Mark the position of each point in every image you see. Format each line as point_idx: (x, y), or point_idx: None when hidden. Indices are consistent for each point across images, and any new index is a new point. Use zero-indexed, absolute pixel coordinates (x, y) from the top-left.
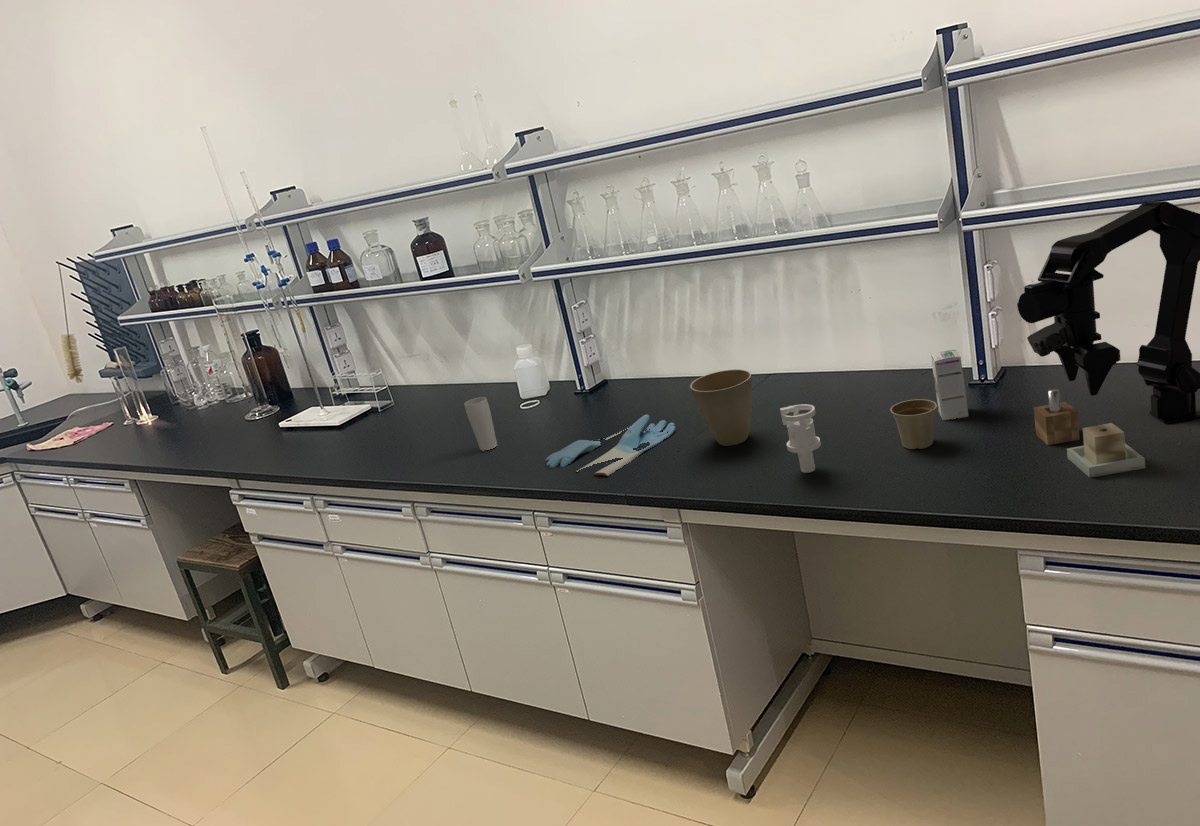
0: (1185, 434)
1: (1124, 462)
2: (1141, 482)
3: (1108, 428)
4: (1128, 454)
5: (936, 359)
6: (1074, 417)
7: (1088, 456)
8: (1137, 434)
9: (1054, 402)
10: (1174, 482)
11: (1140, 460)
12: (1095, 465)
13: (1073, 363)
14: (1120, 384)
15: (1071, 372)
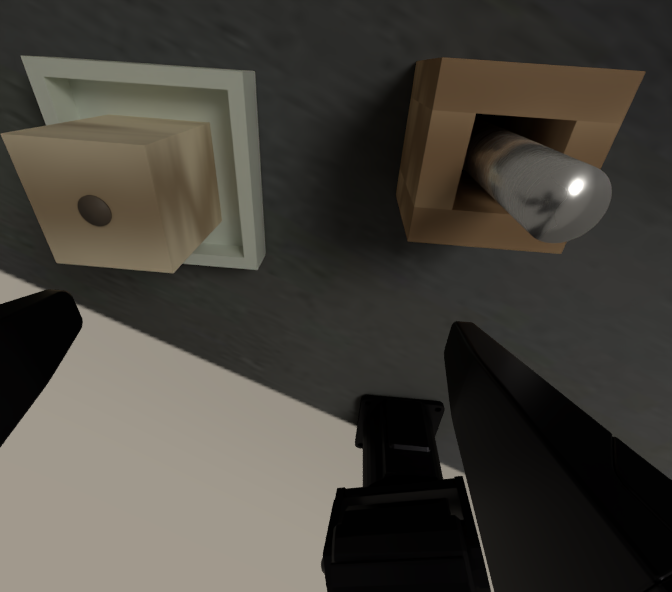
0: (291, 391)
1: None
2: (16, 187)
3: (111, 236)
4: None
5: None
6: (408, 215)
7: (167, 122)
8: (342, 330)
9: (503, 167)
10: (17, 252)
11: None
12: (43, 92)
13: (500, 500)
14: (659, 443)
15: (470, 394)
